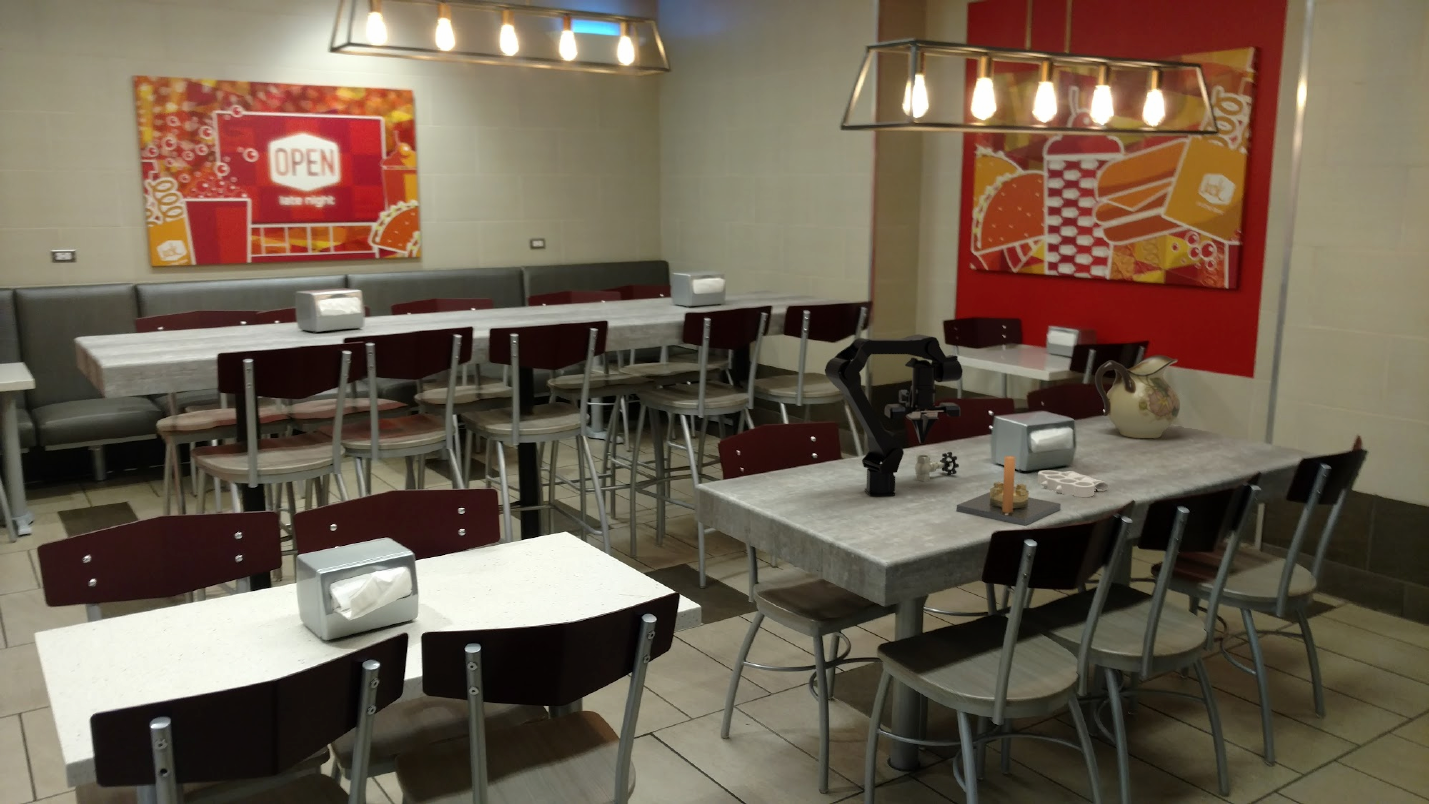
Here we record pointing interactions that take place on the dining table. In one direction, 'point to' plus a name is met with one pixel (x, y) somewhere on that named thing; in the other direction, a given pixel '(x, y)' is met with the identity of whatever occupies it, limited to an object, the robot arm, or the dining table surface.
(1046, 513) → the steel plate
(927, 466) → the valve
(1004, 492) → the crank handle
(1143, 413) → the pitcher
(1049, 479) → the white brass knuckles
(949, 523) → the dining table surface
